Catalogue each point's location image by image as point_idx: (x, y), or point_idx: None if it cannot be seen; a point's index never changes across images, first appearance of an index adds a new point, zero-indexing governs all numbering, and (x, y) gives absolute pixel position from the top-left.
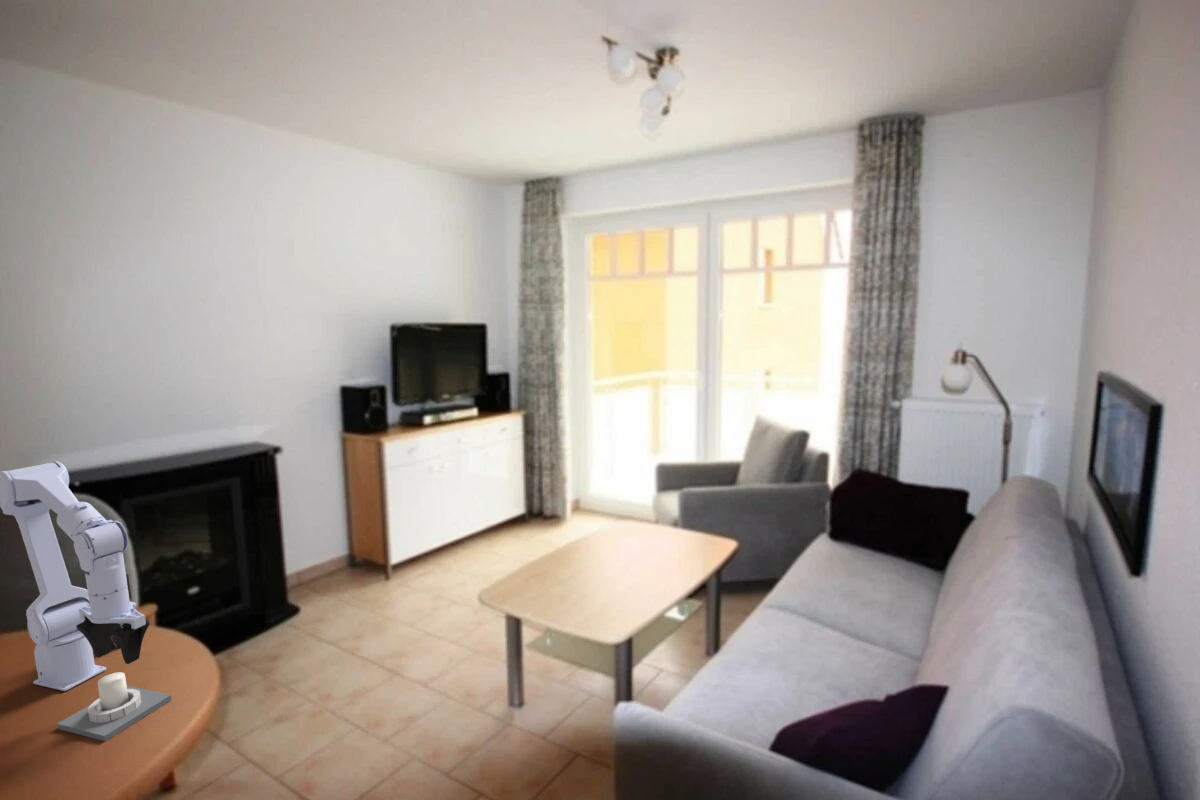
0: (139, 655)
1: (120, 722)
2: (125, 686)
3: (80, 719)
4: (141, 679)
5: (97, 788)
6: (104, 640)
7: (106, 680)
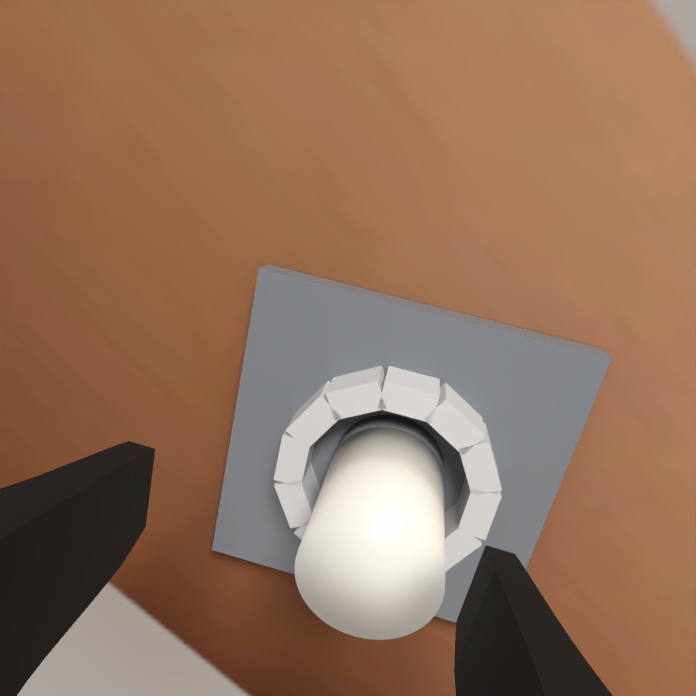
0: (526, 571)
1: None
2: (439, 516)
3: (287, 529)
4: (267, 160)
5: None
6: (65, 557)
7: (353, 595)
